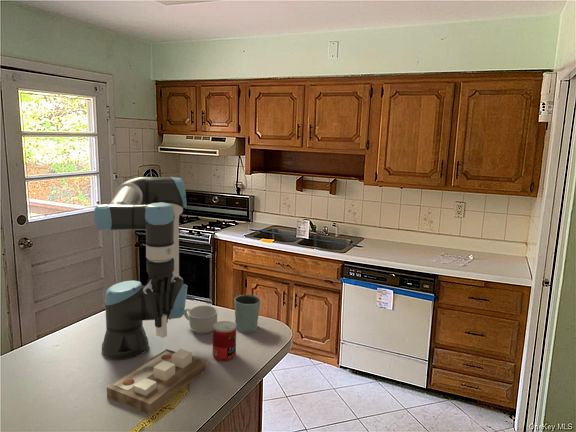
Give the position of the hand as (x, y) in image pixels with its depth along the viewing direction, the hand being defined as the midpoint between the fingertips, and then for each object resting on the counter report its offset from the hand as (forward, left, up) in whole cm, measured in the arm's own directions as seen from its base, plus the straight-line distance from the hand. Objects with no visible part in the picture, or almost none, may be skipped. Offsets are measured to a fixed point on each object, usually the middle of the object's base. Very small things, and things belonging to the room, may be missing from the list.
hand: (161, 335), depth 125 cm
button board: (-2, +1, -16) cm, 16 cm away
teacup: (-13, +36, -16) cm, 41 cm away
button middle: (0, +1, -14) cm, 14 cm away
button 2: (0, +9, -14) cm, 17 cm away
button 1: (0, -7, -16) cm, 17 cm away
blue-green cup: (+2, +46, -16) cm, 49 cm away
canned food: (+6, +24, -16) cm, 29 cm away
